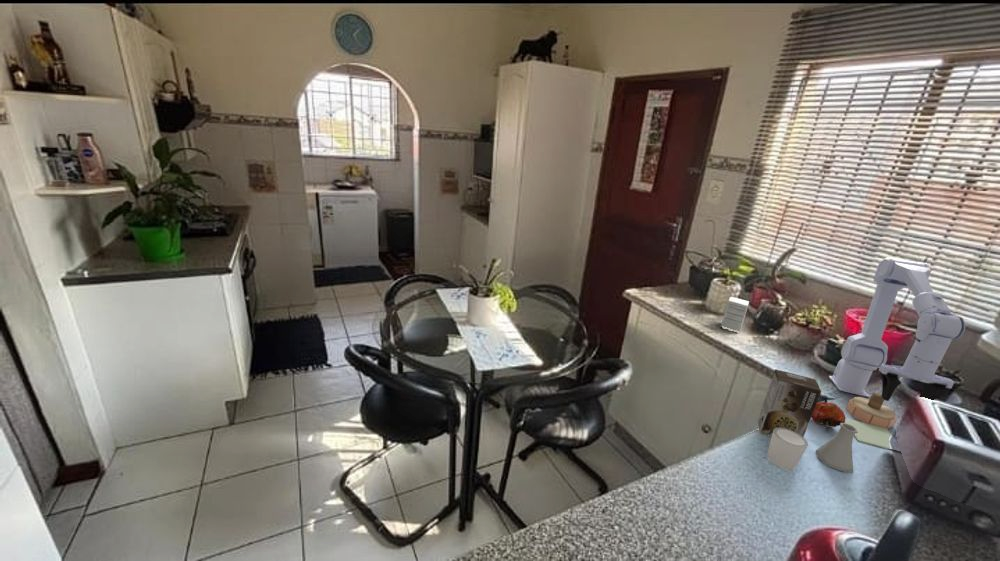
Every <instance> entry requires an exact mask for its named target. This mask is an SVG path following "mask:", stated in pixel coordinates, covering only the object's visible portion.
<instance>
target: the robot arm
mask: <svg viewBox="0 0 1000 561" xmlns="http://www.w3.org/2000/svg"><path fill="white" fill-rule="evenodd" d="M931 272H932V270H931V267H930V265H929V264H928V263H927V262H918V261H912V260H906V259H898V258H894V257H890V256H889V257H885V258H884V259H882V260H881V261H880V262H879V263H878V265H877V267H876V269H875V274H874V278H873V282H875V283H876V284H877V285H876V288H875V291H874V294H873V297H872V298H871V302H870V305H869V308H868V310H867V314H866V317H865V320H864V324H863V325H862V329H861V332H860V333H857V334H854V335H850V336H848V337H847V338H846V341H845V343H844V344H843V346H842V347H841V351H840V355H841V357H842V358H841V359H840V360H839V361H838V362H837V365H836V367H835V369H834V371H833V374H832V375H828V378H829V379H830V380H831V381H832V383H833V384H834V385H835V386H836V388H837V389H838V390H839V391H841V392H845V393H848V394H854V395H857V396H860V397H864V398H869V397H870V395H869V394H868V393H867V392H866V391H865V389H866V388H867V385H868V383H869V380H870V378H871V376H872V374H873V371H877V369H878V371H879V372H880V377H881V383H882V385H881V386H882V387H881V388H882V389H881V395H882V396H881V397H882V398H883V399H884V401H886V402H889V401H890V400H891V398H892V396H893V394H894V392H895V390H896V389H897V388H898V386H899V385H900V384H902V381H900V379H899V377H901V378H906V379H910V380H913V381H919V382H921V383H923V384H922V390H921V392H920V394H919V397H925V398H928V399H931V400H934V401H936V400H937V399H938V398H940V397H942V396H945V395H947V394H948V393H949V390H948V389H950V390H951V389H952V387H953V386H954V384H955V381H953V380H952V379H951V378H949V377H944V376H941V375H938V374H935V373H936V372H937V370H938V369H939V366H940V364H941V362H942V360H943V358H944V356H945V354H946V352H947V351H948V349H949V346H950V344H951V343H952V341H953V340H958V339H959V338H961V337H962V336H963V334H964V332H965V330H966V323H965V320H964V318H963V317H962V316H960V315H957V314H955V313H952V312H951V310H950V309H949V306H948V305H947V303H946V302H945V299H944V298H943V296H942V295H941V294H939V293H937V292H934V290H933V289H932V286H931V284H930V280H929V278H930V275H931ZM905 288H909V290H910V291H911V292H912V295H913V296H914V298H913V299H912V305H913V307H914V309H915V312H916V314H917V315H918V317H919V318H918V321H917V326H916V328H917V330H916V332H915V337H916V338H915V340H914V343H913V344H912V347H911V349H910V351H909V353H908V355H907V358H906V360H905V361H904V364H903V365H892V364H887V363H886V362H887V361H888V350H889V347H888V345H887V344H886V343H885V342H884V341H883V340H882V338H883V335H884V331H885V330H886V327H887V323H888V322H889V319H890V318H889V317H890V315H891V312H892V310H893V307H894V303H895V302H896V298H897V296H898V292H899V291H901V290H902V289H905ZM919 397H918V398H919Z"/></svg>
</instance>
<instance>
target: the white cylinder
mask: <svg viewBox="0 0 1000 561" xmlns="http://www.w3.org/2000/svg"><path fill="white" fill-rule="evenodd" d="M808 446H809V443H808V441H807V440H806V438H805V436H804V437H802V436H801V435H799V434H798V433H796V432H794V431H792V430H789V429H786V428H775V429H774V430H773V433H772V437H770V442H769V447H768V450H767V455H768V458H769V459H768V458H767V459H768V460H769V462H770V463H772V464H773V465H775V466H776V467H778V468H779V467H780V468H779V469H782V468H783V469H782V470H785V469H786V471H794V470H793V469H795V468H796V467H797V466H798V463H799V462H800V460H801V459H802V457H803V455H804V453H805V452H806V450H807V448H808Z"/></svg>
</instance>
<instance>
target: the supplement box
mask: <svg viewBox="0 0 1000 561" xmlns="http://www.w3.org/2000/svg"><path fill="white" fill-rule="evenodd" d="M749 305H750V301H749V300H745V299H742V298H739V297H738V298H737V297H734V296H730V297H729V299H728V301H727V304H726V306H725V310H724V313H723V318H722V321H721V324H720V327H721V326H724V327H727V328H730V329H733V330H737V331H740V332H741V329H742V328H743V327H742V326H743V324H744V320H745V317H746V314H747V310H748V307H749Z"/></svg>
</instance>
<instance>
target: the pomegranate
mask: <svg viewBox="0 0 1000 561" xmlns="http://www.w3.org/2000/svg"><path fill="white" fill-rule="evenodd" d="M823 400H824V401H819V402H818V401H817V404H816V406H815V409H814V411H813V414H812V416H811V419H812V421H813V423H816V424H819V425H824V426H825V428H826V433H825V434H828V429H829V427H832V428H835V427H838V426H840V423H844V422H845V418H846V415H845V413H844V411H843V409H841V407H839V406H838V404H836V403H833V402H829V401H828V398H823Z"/></svg>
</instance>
